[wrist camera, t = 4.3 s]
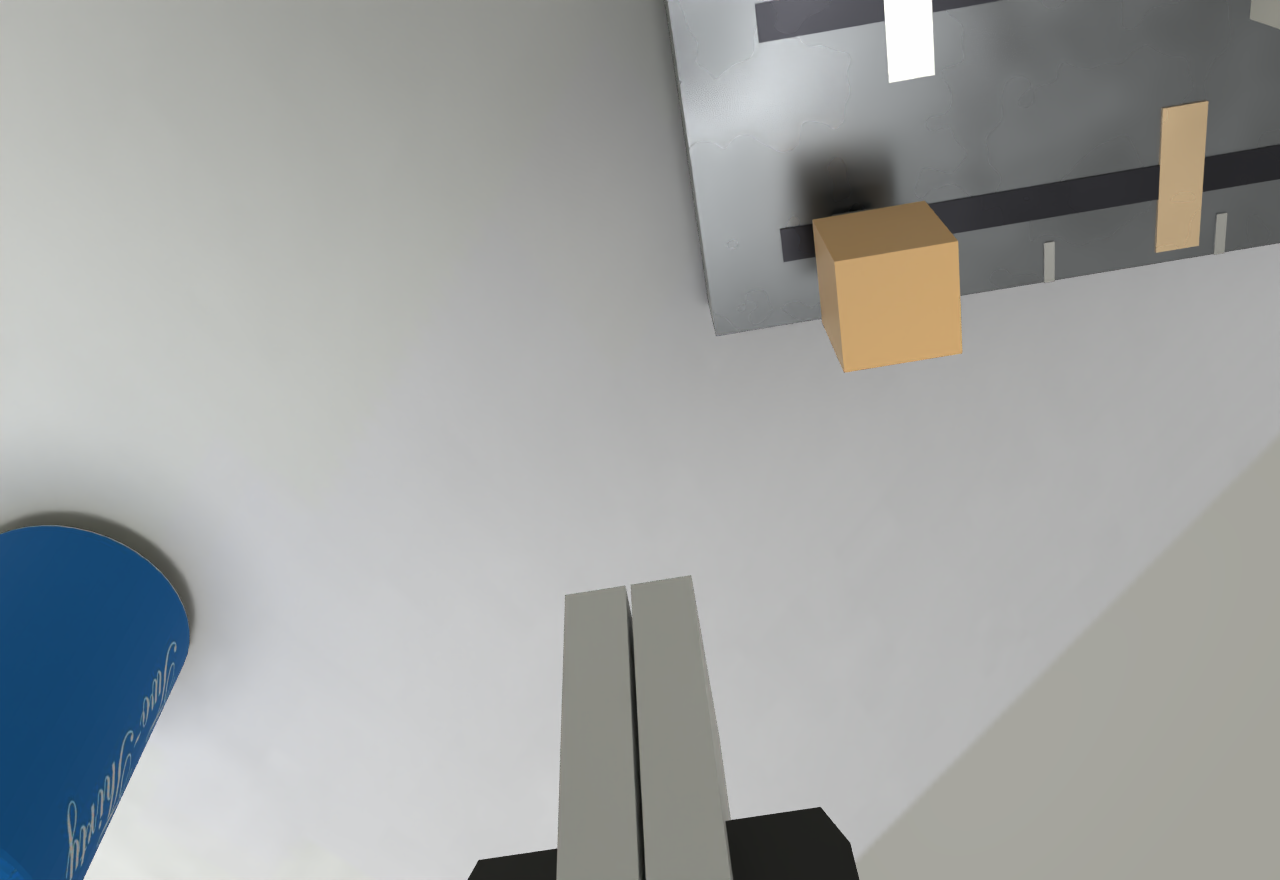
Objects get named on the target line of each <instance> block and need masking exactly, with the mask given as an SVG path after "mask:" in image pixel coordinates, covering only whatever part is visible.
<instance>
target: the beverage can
mask: <svg viewBox="0 0 1280 880" xmlns="http://www.w3.org/2000/svg"><path fill="white" fill-rule="evenodd" d="M189 642H190V629H189V623H188V617H187V614H186V611H185V608H184V605H183V603H182V601H181V599H180V597H179V595H178V593H177V592H176V590H175V589H174V587H173V586H172V584H171V583H170V582H169V580H168V579H167V578H166V577H165V576H164V575H163V574H162V572H161V571H160V570H159V569H158V568H156V567H155V566H154V565H153V564H152V563H151V562H150V561H149V560H147V559H146V558H145V557H143V556H142V555H140V554H139V553H138V552H136V551H135V550H133V549H131V548H129V547H128V546H126V545H124V544H123V543H120V542H118V541H116V540H114V539H112V538H109V537H107V536H104V535H101V534H98V533H95V532H92V531H88V530H84V529H80V528H75V527H67V526H59V525H39V526H27V527H23V528H18V529H13V530H10V531H7V532H4V533H1V534H0V880H83V879H84V877H85V874H86V872H87V870H88V868H89V866H90V864H91V862H92V859H93V857H94V855H95V853H96V851H97V849H98V847H99V844H100V842H101V840H102V838H103V836H104V834H105V832H106V829H107V827H108V825H109V823H110V821H111V819H112V817H113V814H114V812H115V810H116V808H117V806H118V804H119V802H120V800H121V797H122V795H123V793H124V791H125V789H126V787H127V785H128V782H129V780H130V778H131V776H132V774H133V772H134V770H135V767H136V765H137V763H138V761H139V759H140V757H141V755H142V752H143V750H144V748H145V746H146V744H147V742H148V740H149V737H150V735H151V733H152V731H153V729H154V727H155V725H156V722H157V720H158V718H159V716H160V714H161V712H162V710H163V707H164V705H165V703H166V701H167V699H168V697H169V695H170V692H171V690H172V688H173V686H174V684H175V682H176V680H177V677H178V675H179V673H180V671H181V669H182V667H183V665H184V662H185V659H186V657H187V654H188V648H189Z"/></svg>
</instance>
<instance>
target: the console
mask: <svg viewBox="0 0 1280 880" xmlns="http://www.w3.org/2000/svg"><path fill="white" fill-rule="evenodd" d="M664 1H665V8H666V15H667V22H668V29H669V35H670V42H671V49H672V56H673V63H674V70H675V77H676V83H677V90H678V97H679V104H680V111H681V118H682V125H683V131H684V138H685V145H686V152H687V159H688V166H689V173H690V179H691V186H692V193H693V200H694V207H695V214H696V221H697V227H698V234H699V241H700V248H701V255H702V262H703V269H704V275H705V282H706V289H707V296H708V303H709V308H710V312H711V316H712V321H713V325H714V329H715V334H716V336H720V335H726V334H732V333H738V332H744V331H750V330H756V329H762V328H768V327H774V326H780V325H786V324H793V323H799V322H805V321H811V320H817V319H822V316H821V305H820V295H819V285H818V274H817V264H816V254H815V243H814V233H813V223H812V220H813V219H819V218H825V217H831V216H832V215H834V214H840V213H846V212H852V211H858V210H863V209H869V208H875V207H876V208H877V209H878V208H884V207H890V206H896V205H902V204H908V203H914V202H920V201H925V202H926V203H927V204H928V205H929V206H930V208H931V209H932V210H933V211H934V212H935V214H936V215H937V216H938V217H939V218H940V220H941V221H942V222H943V223H944V225H945V226H946V227H947V228H948V229H949V231H950V232H951V233H952V234H953V235H954V237H955V238H956V239H957V240H958V249H959V276H960V296H962V295H968V294H974V293H980V292H986V291H992V290H998V289H1004V288H1010V287H1016V286H1022V285H1029V284H1035V283H1041V282H1044V283H1047V282H1053V281H1055V280H1059V279H1065V278H1071V277H1077V276H1083V275H1089V274H1095V273H1101V272H1107V271H1113V270H1119V269H1125V268H1131V267H1137V266H1144V265H1150V264H1156V263H1162V262H1168V261H1174V260H1180V259H1186V258H1192V257H1198V256H1204V255H1210V254H1214V255H1216V254H1223V253H1224V252H1228V251H1234V250H1240V249H1246V248H1252V247H1259V246H1265V245H1271V244H1277V243H1280V29H1278V28H1275V27H1272V26H1269V25H1266V24H1263V23H1260V22H1257V21H1254V20H1251V19H1250V9H1251V0H664Z"/></svg>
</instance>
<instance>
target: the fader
mask: <svg viewBox="0 0 1280 880" xmlns="http://www.w3.org/2000/svg"><path fill="white" fill-rule="evenodd" d="M812 223H813V233H814V243H815V254H816V264H817V274H818V285H819V295H820V305H821V316H822V323H823V326H824V328H825V330H826V332H827V335H828V337H829V339H830V341H831V344H832V346H833V348H834V351H835V353H836V355H837V357H838V360H839V362H840V364H841V366H842V369H843V371H844V373H845V372H851V371H857V370H863V369H869V368H875V367H881V366H888V365H894V364H900V363H906V362H912V361H918V360H924V359H931V358H937V357H943V356H949V355H955V354H961V353H962V332H961V304H960V276H959V249H958V240H957V239H956V238H955V237H954V235H953V234H952V233H951V232H950V231H949V229H948V228H947V227H946V226H945V225H944V223H943V222H942V221H941V220H940V218H939V217H938V216H937V215H936V214H935V212H934V211H933V210H932V209H931V208H930V206H929V205H928V204H927V203H926V202H925V201H920V202H914V203H908V204H902V205H896V206H890V207H884V208H878V209H877V208H876V207H875V208H869V209H863V210H858V211H852V212H846V213H840V214H834V215H832V216H831V217H825V218H819V219H813V220H812Z"/></svg>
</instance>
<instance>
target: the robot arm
mask: <svg viewBox="0 0 1280 880" xmlns="http://www.w3.org/2000/svg"><path fill="white" fill-rule="evenodd" d="M631 601H632V615H631V611H630V606H629V601H628V596H627V591H626V586H620V587H614V588H607V589H601V590H594V591H588V592H582V593H575V594H569V595H565V617H564V650H563V683H562V715H561V748H560V781H559V813H558V846H557V849H551V850H544V851H537V852H531V853H524V854H517V855H510V856H503V857H497V858H490V859H483V860H478V862H477V864H476V866H475V868H474V869H473V871H472V873H471V875H470V876H469V878H468V880H859V877H858V873H857V869H856V864H855V860H854V856H853V852H852V848H851V844H850V842H849V841H848V840H847V839H846V837H845V836H844V835H843V834H842V832H841V831H840V830H839V829H838V828H837V826H836V825H835V824H834V823H833V822H832V820H831V819H830V818H829V817H828V816H827V814H826V813H825V812H824V811H823V809H822V808H821V807H817V808H810V809H804V810H797V811H790V812H783V813H776V814H770V815H763V816H756V817H749V818H742V819H736V820H731V818H730V811H729V803H728V796H727V789H726V782H725V774H724V767H723V760H722V753H721V745H720V738H719V733H718V727H717V721H716V715H715V710H714V704H713V698H712V692H711V687H710V681H709V675H708V669H707V664H706V658H705V652H704V646H703V641H702V635H701V629H700V624H699V618H698V612H697V606H696V601H695V595H694V589H693V583H692V578H691V575H690V576H684V577H677V578H671V579H665V580H658V581H652V582H645V583H639V584H633V585H631Z"/></svg>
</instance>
